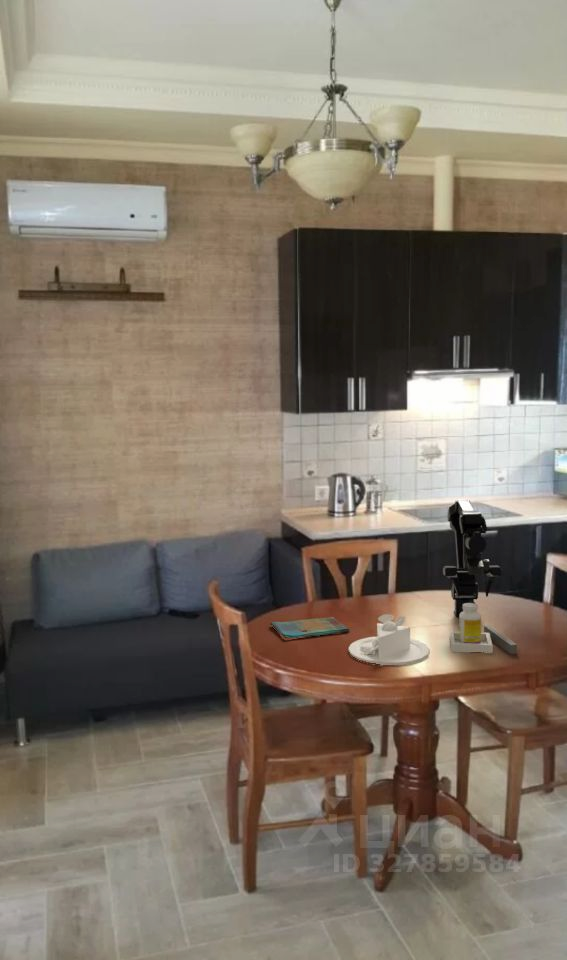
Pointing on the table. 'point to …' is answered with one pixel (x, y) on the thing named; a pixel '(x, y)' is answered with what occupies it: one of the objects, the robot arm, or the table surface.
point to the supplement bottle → (470, 624)
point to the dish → (390, 645)
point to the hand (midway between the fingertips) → (472, 596)
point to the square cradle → (471, 644)
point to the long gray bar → (501, 640)
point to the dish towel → (310, 627)
